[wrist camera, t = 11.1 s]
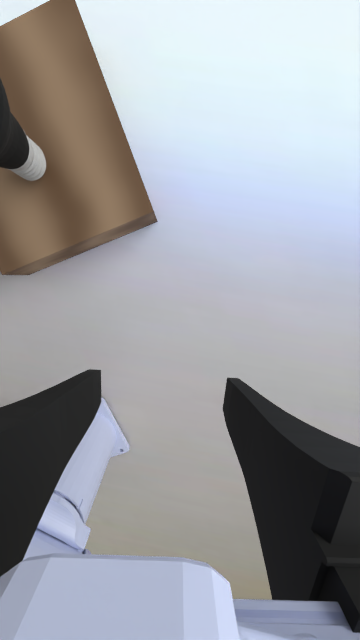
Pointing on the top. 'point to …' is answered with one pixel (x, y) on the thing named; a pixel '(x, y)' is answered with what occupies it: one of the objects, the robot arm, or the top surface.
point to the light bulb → (18, 145)
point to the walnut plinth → (63, 146)
